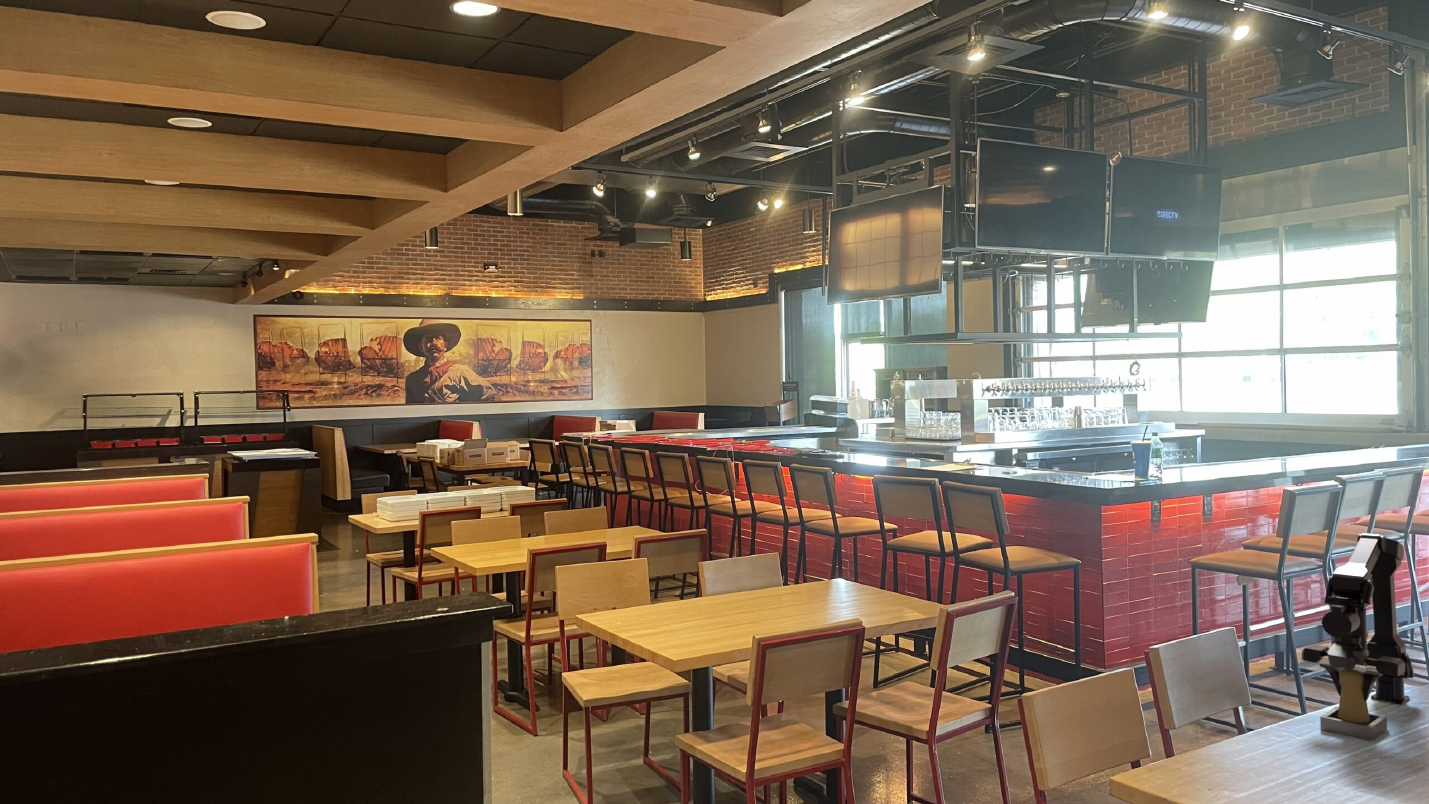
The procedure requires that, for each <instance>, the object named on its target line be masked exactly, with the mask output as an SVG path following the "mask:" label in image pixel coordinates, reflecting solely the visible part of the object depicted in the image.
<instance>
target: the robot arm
mask: <svg viewBox="0 0 1429 804" xmlns="http://www.w3.org/2000/svg"><path fill="white" fill-rule="evenodd" d="M1356 540H1357V543H1356V545H1355V547H1354V548H1353V551H1352V553H1351V555H1350V557H1349V558H1348V561H1347V562H1346V564H1344V565H1341V566H1338V567H1337V568H1336V569H1335V570H1334V571H1333V573H1332V575H1330V576H1329V578H1328V582H1327V588H1326V592H1325V598H1324V604H1326V605H1331V610H1330V611H1328V612H1327V613H1325V614H1324V616H1323V617H1322V619H1321V626H1322V629H1323V631H1325V632H1326V634H1327V635H1329V636H1330V637H1334V638H1333V639H1334V640H1333V643H1332V644H1331V645H1330V647H1329V646H1326V645H1318V644H1315V643H1314V644H1312V643H1311V644H1310V645H1307V646H1306V647H1304V648H1303V649H1302V651H1301V660H1302V661H1305V662H1309V663H1315V664H1317V663H1318V662H1320V663H1319V664H1318V665H1319V667H1320V668H1323V669H1324V670H1326V672H1327V673H1328V674H1329V676H1330V677H1331V679H1332V682H1333V684H1334V687H1335V689H1336V691H1337V694H1338V696H1339V697H1340V694H1341V687H1342V682H1341V681H1340V679H1339V672H1340V670H1341V669H1343V668H1345V669H1347V670H1352V669H1354V668H1355V669H1356V666H1362V667H1366V668H1365V671H1363V672H1364V673H1363V675H1364V692H1363V696H1364V700H1365V701H1367V702H1368V699H1369V697H1370V699H1373V700H1377V701H1383V702H1388V703H1393V704H1399V705H1403V704H1405V703H1406V702H1407V701H1409V700H1410V696H1409V695H1405V679H1407V680H1408V679H1414V678H1415V672H1414V665H1413V663H1412V659H1411V658H1410V655H1409V654H1408V653H1407V647H1406V643H1405V642H1404V640H1403V639H1402V638H1401V636H1400V635H1399V634H1398V632H1397V631H1398V629H1397V628H1398V627H1397V626H1398V625H1397V610H1396V608H1397V607H1396V589H1395V574H1396V572H1397V571H1398V570H1399V568H1400V567H1401V565H1402V561H1403V560H1404V557H1405V548H1404V545H1403V544H1402V543H1401V542H1400V541H1398V540H1397V539H1392V538H1388V537H1386V536H1385V535H1382V534H1376V533H1358V536H1357V539H1356ZM1370 578H1371V579H1370ZM1371 603H1372V611H1373V613H1372V614H1373V631H1374V632H1373V633H1374V634H1373V636H1372V637H1371V638H1370V640H1369V641H1368V638H1369V632H1368V631H1367V629H1368V628H1367V627H1368V626H1367V625H1368V624H1367V607H1368V606H1369V605H1371ZM1374 685H1375V693H1376V694H1375V693H1373V694H1374V695H1373V694H1372V695H1371V692H1372V690H1373V688H1374Z"/></svg>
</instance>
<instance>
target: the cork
mask: <svg viewBox="0 0 1429 804" xmlns="http://www.w3.org/2000/svg"><path fill="white" fill-rule="evenodd" d="M1364 672H1365V671H1363V670H1362V669H1359V668H1356V667H1355V668H1354V669H1352V670H1347V669H1345V668H1342V669H1341V670H1340V672H1339V679H1340V681H1341V682H1342V687H1341V694H1340V696H1339V704H1338V707H1339V710H1338V717H1339V718H1341V719H1343V720H1346V721H1350V722H1358V723H1364V722H1369V721H1370V717H1369V713H1370V712H1369V707H1368V700H1367V701H1365V700H1364V696H1363V692H1364V675H1363V673H1364Z"/></svg>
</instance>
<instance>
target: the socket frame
mask: <svg viewBox="0 0 1429 804" xmlns="http://www.w3.org/2000/svg"><path fill="white" fill-rule="evenodd" d="M1338 710H1339V705H1338V706H1336V705H1335V706H1334V707H1333V708H1331V709H1330V710H1328V711H1327V712H1325V713H1324V714H1322V715H1321V716H1320V717H1319V719H1320V720H1319V721H1320V722H1319V723H1320V730H1321V731H1323V732H1329V733H1332V734H1336V735H1342V736H1346V737H1350V738H1356V739H1359V740H1363V741H1369V742H1373V741H1375V740H1376V739H1378V738H1379V737H1380V736H1381V735H1382V734H1384V733H1386V731H1388V717H1387V716H1386V715H1380V714H1375V713H1371V712H1369V717H1370V721H1369V722H1364V723H1358V722H1350V721H1346V720H1343V719H1341V718H1339V717H1338Z"/></svg>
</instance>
